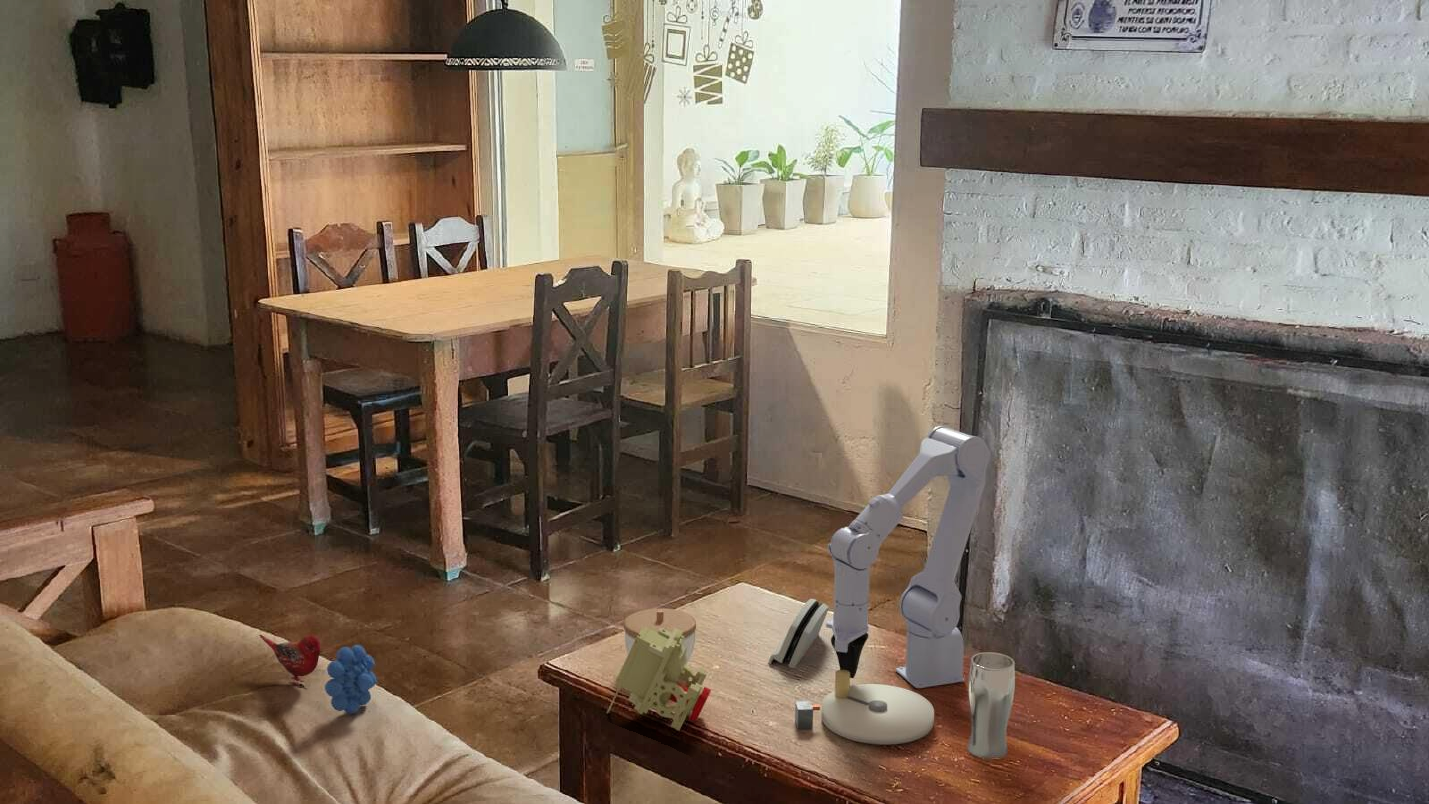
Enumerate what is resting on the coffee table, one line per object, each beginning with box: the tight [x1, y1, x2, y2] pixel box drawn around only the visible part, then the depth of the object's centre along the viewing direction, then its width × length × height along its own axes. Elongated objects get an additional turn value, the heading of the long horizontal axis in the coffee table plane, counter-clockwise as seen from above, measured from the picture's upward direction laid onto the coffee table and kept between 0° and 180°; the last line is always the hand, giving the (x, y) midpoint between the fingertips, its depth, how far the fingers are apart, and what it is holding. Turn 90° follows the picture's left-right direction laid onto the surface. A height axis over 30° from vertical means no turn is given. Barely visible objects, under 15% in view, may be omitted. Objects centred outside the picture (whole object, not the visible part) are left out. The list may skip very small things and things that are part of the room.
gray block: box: [794, 700, 821, 731], centre depth 215 cm, size 4×3×4 cm
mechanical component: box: [606, 627, 750, 732], centre depth 215 cm, size 8×17×20 cm, turn 79°
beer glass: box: [967, 651, 1016, 760], centre depth 205 cm, size 7×7×15 cm
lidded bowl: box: [623, 607, 697, 666], centre depth 234 cm, size 13×13×11 cm
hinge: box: [767, 598, 830, 669], centre depth 243 cm, size 17×5×10 cm, turn 161°
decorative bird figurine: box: [259, 634, 323, 682], centre depth 228 cm, size 3×18×10 cm, turn 53°
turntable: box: [821, 669, 935, 745], centre depth 215 cm, size 18×18×6 cm
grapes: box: [324, 644, 378, 715], centre depth 216 cm, size 12×7×12 cm, turn 157°
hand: (848, 676), depth 224 cm, fingers closed
